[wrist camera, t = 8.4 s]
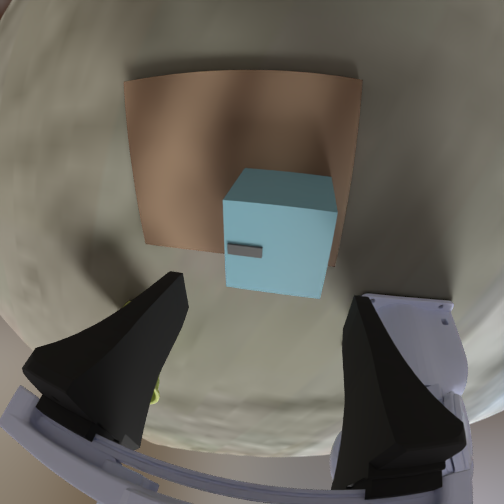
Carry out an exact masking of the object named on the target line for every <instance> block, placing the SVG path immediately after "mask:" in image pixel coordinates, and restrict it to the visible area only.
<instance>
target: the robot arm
mask: <svg viewBox="0 0 504 504" xmlns="http://www.w3.org/2000/svg"><path fill="white" fill-rule="evenodd" d="M371 299H374V300H371ZM453 307H454V304H453V302H452V301H447V300H434V299H422V298H411V297H400V296H389V295H379V294H369V293H367V294H363V295H362V296H356V295H354V298H353V301H352V304H351V307H350V310H349V313H348V316H347V319H346V322H345V325H344V328H343V343H342V355H343V371H344V391H345V405H344V417H343V427H342V431H341V432H340V433H339V434H338V436H337V437H336V439H335V442H334V444H333V447H332V450H331V454H330V471H331V476H332V479H333V483H332V487H331V490H312V489H296V488H285V487H275V486H267V485H260V484H253V483H247V482H241V481H236V480H231V479H226V478H222V477H217V476H213V475H209V474H205V473H200V472H197V471H193V470H190V469H186V468H183V467H179V466H176V465H173V464H170V463H167V462H164V461H161V460H158V459H155V458H152V457H149V456H147V455H144V454H141V453H139V452H136V451H134V450H136V449H138V448H140V445H141V439H142V434H143V429H144V425H145V421H146V417H147V413H148V409H149V405H150V402H151V399H152V395H153V392H154V389H155V386H156V383H157V380H158V377H159V374H160V372H161V370H162V367H163V365H164V363H165V361H166V359H167V357H168V355H169V353H170V351H171V349H172V347H173V345H174V343H175V341H176V339H177V336H178V334H179V332H180V330H181V328H182V326H183V323H184V320H185V317H186V314H187V311H188V308H189V305H188V300H187V294H186V289H185V283H184V277H183V273H178V272H172V271H170V272H168V273H167V274H166V275H164V276H163V277H162V278H161V279H159V280H158V281H157V282H156V283H154V284H153V285H152V286H150V287H149V288H148V289H147V290H145V291H144V292H143V293H142V294H140V295H139V296H138V297H136V298H135V299H134V300H132V301H131V302H129V303H128V304H127V305H125V306H124V307H122V308H121V309H120V310H118V311H117V312H115V313H114V314H112V315H111V316H109V317H107V318H106V319H104V320H102V321H101V322H99V323H97V324H95V325H93V326H91V327H89V328H87V329H85V330H83V331H81V332H79V333H77V334H75V335H72V336H70V337H68V338H65V339H62V340H60V341H57V342H54V343H51V344H47V345H44V346H41V347H37V348H35V350H34V351H33V353H32V354H31V356H30V357H29V359H28V360H27V362H26V363H25V365H24V366H23V367H22V370H23V373H24V375H25V376H26V377H27V378H28V380H29V381H30V382H31V383H32V384H33V385H34V386H35V387H36V388H37V389H38V390H39V391H40V392H41V393H42V394H43V395H42V396H41V398H40V399H39V398H38V397H37V396H36V395H34V394H33V393H32V392H30V391H29V390H27V389H26V388H24V387H23V386H21V385H20V386H19V388H18V389H17V391H16V392H15V394H14V396H13V397H12V399H11V401H10V402H9V404H8V406H7V408H6V409H5V411H4V413H3V415H2V417H1V418H0V427H1V428H3V429H4V430H5V431H6V432H7V433H8V434H9V435H10V436H11V437H13V438H14V439H15V440H16V441H17V442H18V443H19V444H20V445H21V446H23V447H24V448H25V449H26V450H27V451H28V452H29V453H31V454H32V455H33V456H34V457H35V458H37V459H38V460H39V461H40V462H41V463H43V464H44V465H45V466H47V467H48V468H49V469H51V470H52V471H53V472H54V473H56V474H57V475H58V476H60V477H61V478H63V479H64V480H66V481H67V482H68V483H70V484H72V485H73V486H74V487H76V488H77V489H79V490H80V491H82V492H84V493H85V494H87V495H88V496H90V497H91V498H93V499H95V500H96V501H97V504H192V503H189V502H185V501H182V500H179V499H176V498H172V497H169V496H166V495H163V494H160V493H157V491H158V488H159V485H158V484H157V483H155V482H153V481H151V480H149V479H147V478H145V477H144V476H143V475H141V474H139V473H137V472H134V471H132V470H130V469H128V468H126V467H123V466H122V464H121V463H124V464H126V465H128V466H131V467H133V468H136V469H138V470H141V471H143V472H146V473H148V474H151V475H154V476H157V477H160V478H162V479H165V480H168V481H171V482H174V483H178V484H181V485H184V486H187V487H191V488H195V489H198V490H203V491H206V492H210V493H214V494H219V495H223V496H228V497H233V498H238V499H244V500H250V501H256V502H263V503H271V504H473V489H472V488H473V487H472V477H473V468H474V465H473V447H472V438H471V431H470V425H469V420H468V416H467V412H466V408H465V405H464V402H463V399H462V397H461V395H462V394H463V392H464V389H465V386H466V383H467V376H468V364H467V358H466V355H465V351H464V348H463V345H462V342H461V339H460V336H459V333H458V331H457V328H456V325H455V322H454V320H453V317H452V314H451V310H452V309H453Z"/></svg>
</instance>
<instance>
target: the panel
mask: <svg viewBox="0 0 504 504" xmlns="http://www.w3.org/2000/svg"><path fill="white" fill-rule="evenodd" d="M362 81H363V80H360V79H355V78H348V77H342V76H334V75H326V74H317V73H307V72H295V71H277V70H220V71H202V72H190V73H179V74H170V75H163V76H155V77H149V78H142V79H136V80H131V81H126V82H124V95H125V108H126V120H127V130H128V139H129V148H130V156H131V163H132V170H133V177H134V183H135V190H136V196H137V202H138V207H139V213H140V218H141V223H142V228H143V233H144V238H145V243H146V244H150V245H158V246H166V247H174V248H182V249H190V250H198V251H206V252H215V253H223V254H225V248H224V221H223V199H224V198H225V196H226V195H227V193H228V192H229V190H230V189H231V187H232V186H233V184H234V183H235V181H236V180H237V179H238V177H239V176H240V174H241V173H242V171H243V170H244V169H245V168H251V169H263V170H275V171H285V172H295V173H304V174H312V175H320V176H328V177H332V183H333V188H334V194H335V199H336V205H337V211H338V214H337V219H336V225H335V230H334V236H333V241H332V246H331V251H330V256H329V261H328V265H327V266H332V267H335V264H336V260H337V255H338V250H339V245H340V241H341V236H342V230H343V225H344V220H345V215H346V209H347V203H348V197H349V191H350V185H351V179H352V172H353V165H354V158H355V151H356V143H357V134H358V126H359V116H360V106H361V94H362Z"/></svg>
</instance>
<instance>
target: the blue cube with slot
mask: <svg viewBox="0 0 504 504" xmlns="http://www.w3.org/2000/svg"><path fill="white" fill-rule="evenodd" d="M337 214H338V211H337V205H336V199H335V194H334V188H333V183H332V177H328V176H320V175H312V174H304V173H295V172H285V171H275V170H263V169H251V168H245V169H244V170H243V171H242V173H241V174H240V176H239V177H238V179H237V180H236V181H235V183H234V184H233V186H232V187H231V189H230V190H229V192H228V193H227V195H226V196H225V198H224V199H223V221H224V248H225V271H226V286H228V287H234V288H241V289H248V290H255V291H263V292H270V293H277V294H285V295H293V296H301V297H309V298H317V299H320V297H321V292H322V288H323V283H324V279H325V275H326V270H327V265H328V261H329V256H330V251H331V246H332V241H333V236H334V230H335V225H336V219H337Z"/></svg>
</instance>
